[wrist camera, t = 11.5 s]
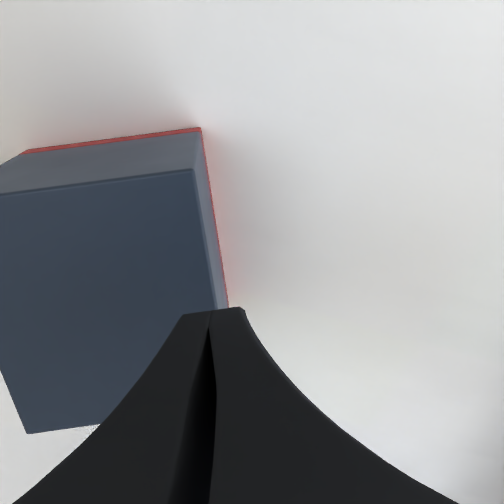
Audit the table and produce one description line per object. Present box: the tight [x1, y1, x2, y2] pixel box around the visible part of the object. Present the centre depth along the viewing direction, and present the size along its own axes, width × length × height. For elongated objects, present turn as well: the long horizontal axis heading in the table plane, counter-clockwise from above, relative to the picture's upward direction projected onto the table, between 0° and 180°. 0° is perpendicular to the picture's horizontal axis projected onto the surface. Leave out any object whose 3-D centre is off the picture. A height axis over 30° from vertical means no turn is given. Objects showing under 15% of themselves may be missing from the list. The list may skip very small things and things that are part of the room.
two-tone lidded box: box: [0, 127, 229, 434], centre depth 15 cm, size 7×6×6 cm
